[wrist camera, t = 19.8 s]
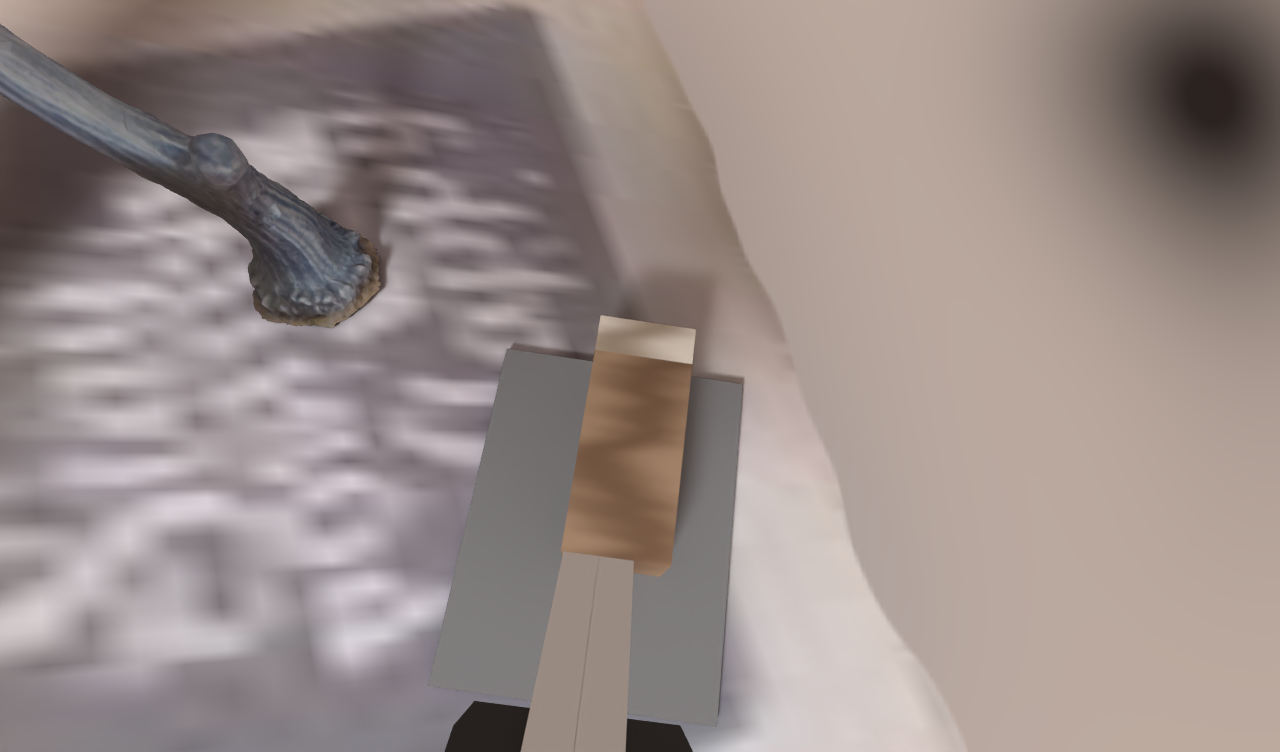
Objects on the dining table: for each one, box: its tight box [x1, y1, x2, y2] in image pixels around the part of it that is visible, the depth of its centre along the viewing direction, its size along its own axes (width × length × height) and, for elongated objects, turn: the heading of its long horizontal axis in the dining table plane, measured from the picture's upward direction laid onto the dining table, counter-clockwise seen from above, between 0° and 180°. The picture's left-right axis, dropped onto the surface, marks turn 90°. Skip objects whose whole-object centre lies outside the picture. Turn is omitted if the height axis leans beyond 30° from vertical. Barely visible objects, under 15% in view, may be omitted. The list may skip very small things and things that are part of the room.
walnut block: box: [561, 315, 696, 577], centre depth 34 cm, size 5×5×12 cm
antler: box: [0, 24, 381, 328], centre depth 28 cm, size 12×8×25 cm
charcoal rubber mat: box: [428, 349, 743, 727], centre depth 35 cm, size 14×18×1 cm
